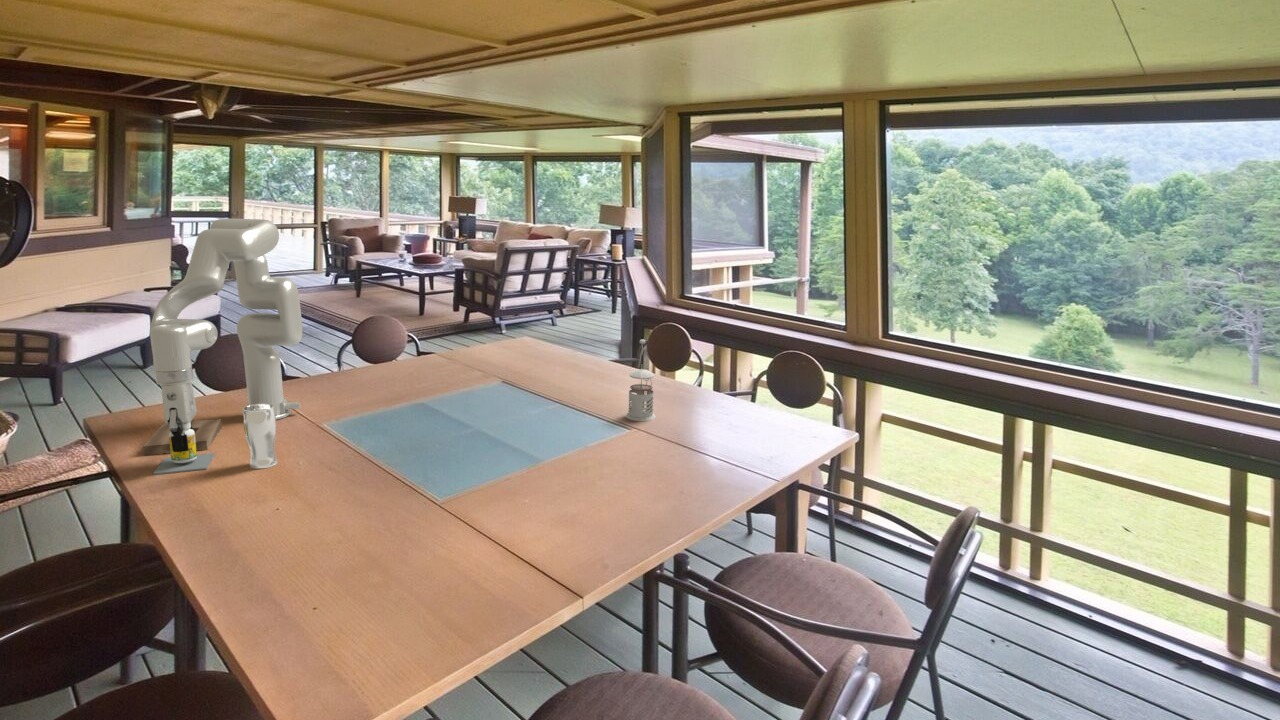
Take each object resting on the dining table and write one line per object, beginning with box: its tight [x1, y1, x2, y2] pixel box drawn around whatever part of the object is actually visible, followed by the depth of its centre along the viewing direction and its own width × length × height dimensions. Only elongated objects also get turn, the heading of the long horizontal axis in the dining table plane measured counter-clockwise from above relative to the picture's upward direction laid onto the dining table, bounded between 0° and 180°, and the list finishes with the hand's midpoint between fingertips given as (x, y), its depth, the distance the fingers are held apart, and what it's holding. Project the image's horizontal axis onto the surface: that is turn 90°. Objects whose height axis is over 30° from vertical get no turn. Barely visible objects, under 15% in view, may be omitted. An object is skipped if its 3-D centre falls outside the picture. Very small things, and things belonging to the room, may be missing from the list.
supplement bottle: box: [169, 421, 198, 463], centre depth 171 cm, size 5×5×10 cm
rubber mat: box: [152, 452, 216, 476], centre depth 172 cm, size 11×11×1 cm
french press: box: [625, 339, 657, 422], centre depth 219 cm, size 10×12×25 cm
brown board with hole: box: [143, 418, 222, 456], centre depth 189 cm, size 14×20×2 cm
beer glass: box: [242, 403, 278, 470], centre depth 172 cm, size 7×7×15 cm
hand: (183, 445), depth 172 cm, fingers closed on supplement bottle, 5 cm apart
